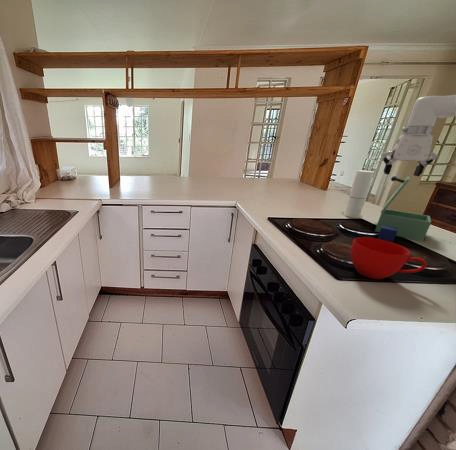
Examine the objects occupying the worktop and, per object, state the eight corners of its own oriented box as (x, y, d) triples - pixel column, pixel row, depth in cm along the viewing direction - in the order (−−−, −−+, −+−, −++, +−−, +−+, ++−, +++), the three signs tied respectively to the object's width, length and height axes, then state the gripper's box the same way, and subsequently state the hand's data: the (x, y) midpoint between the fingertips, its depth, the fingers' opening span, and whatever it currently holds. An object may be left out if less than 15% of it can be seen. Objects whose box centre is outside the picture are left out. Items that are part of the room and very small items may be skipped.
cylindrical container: (358, 215, 135) (373, 170, 126) (360, 218, 129) (375, 172, 120) (342, 213, 138) (356, 169, 129) (344, 216, 132) (358, 171, 124)
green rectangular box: (421, 233, 109) (429, 215, 106) (422, 241, 101) (431, 222, 97) (377, 225, 119) (383, 208, 116) (374, 231, 111) (381, 213, 108)
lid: (409, 176, 107) (395, 172, 110) (409, 179, 99) (394, 174, 102) (384, 208, 116) (371, 203, 119) (382, 213, 108) (368, 207, 110)
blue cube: (393, 238, 103) (397, 228, 101) (393, 241, 100) (397, 231, 98) (378, 235, 106) (382, 225, 105) (377, 238, 103) (381, 227, 101)
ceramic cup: (417, 297, 65) (433, 265, 61) (342, 273, 75) (351, 245, 72) (414, 278, 73) (427, 249, 70) (347, 259, 84) (355, 234, 81)
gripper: (393, 131, 93) (378, 174, 99) (454, 131, 87) (434, 177, 93) (385, 131, 100) (372, 172, 106) (441, 131, 93) (423, 175, 99)
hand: (401, 174), depth 99 cm, fingers open, 9 cm apart
